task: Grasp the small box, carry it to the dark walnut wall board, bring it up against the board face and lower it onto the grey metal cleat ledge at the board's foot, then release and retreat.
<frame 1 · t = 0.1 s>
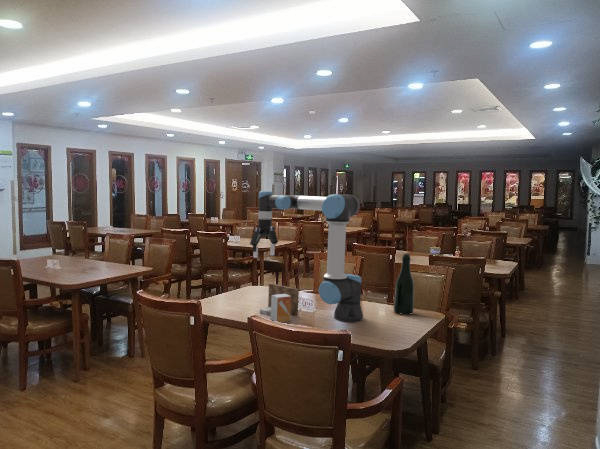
hand: (263, 256, 265), 28 cm above the table, fingers open, 13 cm apart
beer bottle: (403, 313, 262), on the table
small box: (280, 321, 239), on the table
wall board: (277, 313, 252), on the table
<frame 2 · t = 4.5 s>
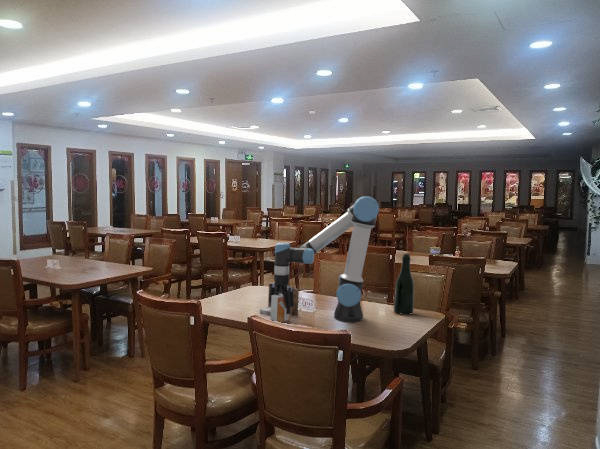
hand: (280, 318, 239), 1 cm above the table, fingers closed on small box, 7 cm apart
small box: (280, 321, 239), on the table, touching gripper
everything else where it was.
when the fingers open (4 cm above the table, at t = 9.6 s): small box stays where it is, resting on wall board.
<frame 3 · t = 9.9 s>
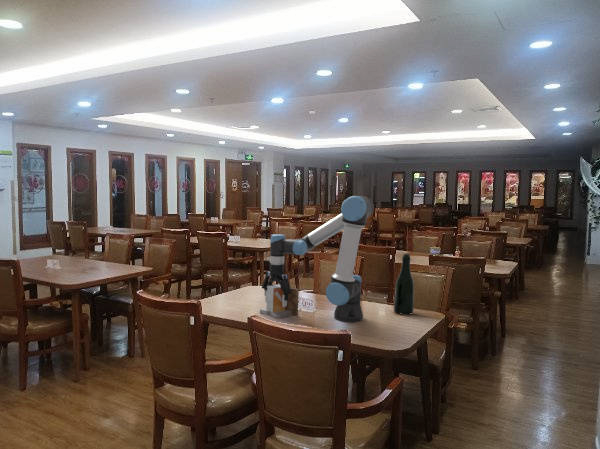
hand: (275, 304, 250), 5 cm above the table, fingers open, 11 cm apart
small box: (275, 310, 250), point 2 cm above the table, touching wall board
everything else where it was.
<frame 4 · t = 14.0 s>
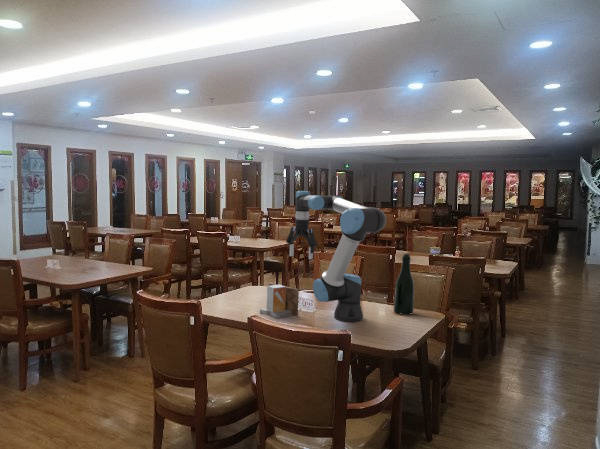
hand: (300, 257, 261), 29 cm above the table, fingers open, 13 cm apart
nothing on the table moved.
at the end: small box inside the target area (0.2 cm from its centre), point 1.8 cm above the table; small box tilted 0°; the gripper is holding nothing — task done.
